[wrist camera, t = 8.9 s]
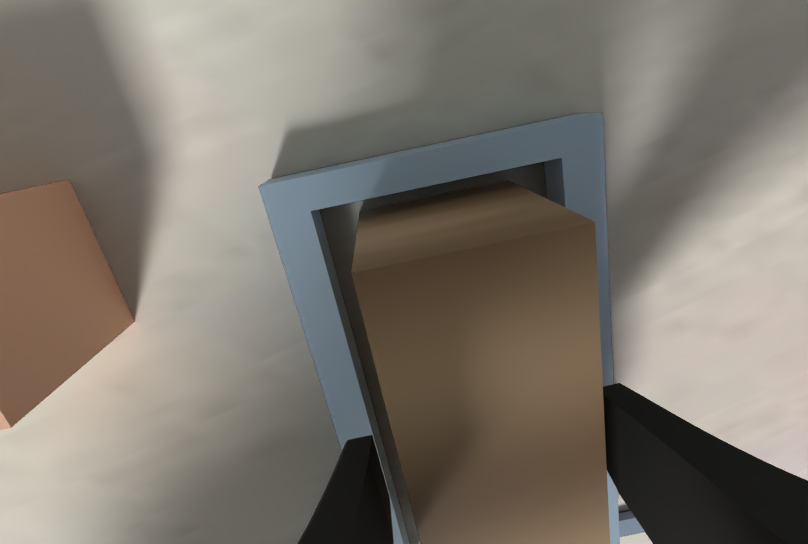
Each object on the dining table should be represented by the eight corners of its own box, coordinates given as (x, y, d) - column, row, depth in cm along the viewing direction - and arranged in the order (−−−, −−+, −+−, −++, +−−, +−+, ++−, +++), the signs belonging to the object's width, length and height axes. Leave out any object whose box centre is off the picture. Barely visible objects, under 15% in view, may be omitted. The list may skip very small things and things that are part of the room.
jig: (683, 515, 16) (706, 545, 15) (311, 592, 16) (306, 628, 15) (695, 88, 11) (732, 85, 10) (155, 204, 11) (129, 213, 10)
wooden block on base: (541, 487, 15) (615, 649, 11) (431, 510, 16) (456, 682, 11) (506, 179, 12) (594, 221, 7) (359, 210, 12) (351, 273, 7)
